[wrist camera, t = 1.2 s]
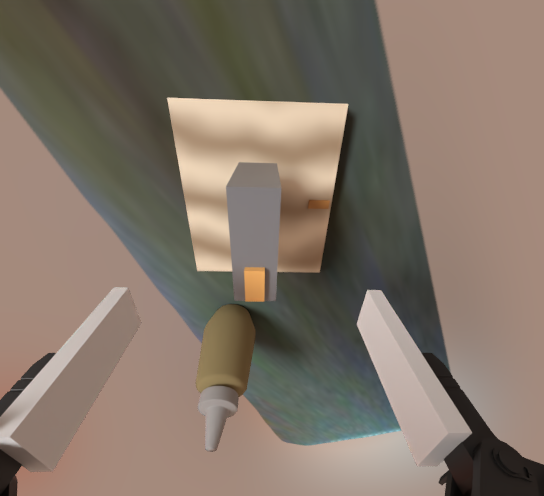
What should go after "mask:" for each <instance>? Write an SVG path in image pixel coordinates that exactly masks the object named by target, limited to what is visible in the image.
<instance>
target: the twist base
mask: <svg viewBox="0 0 544 496" xmlns="http://www.w3.org/2000/svg"><path fill="white" fill-rule="evenodd" d="M167 100H168V105H169V111H170V117H171V123H172V128H173V134H174V140H175V145H176V151H177V157H178V163H179V168H180V174H181V180H182V185H183V191H184V197H185V203H186V208H187V214H188V220H189V225H190V231H191V237H192V243H193V248H194V254H195V260H196V266H197V271H232V261H231V247H230V234H229V221H228V208H227V195H226V185H227V184H228V182H229V180H230V178H231V176H232V174H233V172H234V171H235V169H236V167H237V165H238V163H239V162H250V163H277V166H278V172H279V177H280V183H281V206H280V226H279V246H278V266H277V272H320V268H321V262H322V256H323V250H324V244H325V238H326V232H327V227H328V221H329V215H330V209H331V203H332V197H333V191H334V185H335V180H336V174H337V168H338V162H339V156H340V150H341V144H342V139H343V133H344V127H345V121H346V115H347V109H348V104H332V103H303V102H274V101H245V100H215V99H186V98H167Z"/></svg>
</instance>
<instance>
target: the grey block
mask: <svg viewBox="0 0 544 496" xmlns="http://www.w3.org/2000/svg"><path fill="white" fill-rule="evenodd" d="M226 195H227V208H228V221H229V234H230V247H231V261H232V274H233V287H234V300H235V301H263V302H264V301H276V286H277V266H278V246H279V226H280V206H281V183H280V177H279V172H278V166H277V163H250V162H239V163H238V165H237V167H236V169H235V171H234V172H233V174H232V176H231V178H230V180H229V182H228V184H227V185H226Z"/></svg>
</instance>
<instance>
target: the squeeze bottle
mask: <svg viewBox="0 0 544 496" xmlns="http://www.w3.org/2000/svg"><path fill="white" fill-rule="evenodd" d="M255 332H256V331H255V328H254V325H253V322H252V319H251V316H250V314H249V312H248V310H246V309H245V308H244V307H242V306H239V305H236V304H228V305H224V306H222V307H220V308H219V309H218V310H217V311H216V313H215V314H214V315H213V316H212V318H211V319H210V320H209V322H208V323H207V325H206V327H205V329H204V334H203V340H202V347H201V353H200V359H199V365H198V371H197V378H196V388H197V390H198V391H199V392H200V393H201V395H200V399H199V403H198V410H199V412H200V413H201V414H202V415H204V416H206V436H205V437H206V438H205V439H206V440H205V449H206V450H207V451H211V452H213V451H216V450H217V447H218V444H219V441H220V438H221V435H222V432H223V428H224V425H225V422H226V419H227V418H228V417H231V416H233V415H234V414H235V413H236V412H237V408H238V397H240V396H241V395H242V394H243V393H244V392H245V391H246V389H247V383H248V377H249V372H250V366H251V360H252V354H253V348H254V342H255Z"/></svg>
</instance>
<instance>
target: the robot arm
mask: <svg viewBox="0 0 544 496" xmlns="http://www.w3.org/2000/svg"><path fill="white" fill-rule="evenodd" d="M140 325H141V320H140V318H139V315H138V312H137V309H136V307H135V304H134V302H133V299H132V296H131V293H130V291H129V288H113V289H112V290H111V291H110V293H109V294H108V295H107V296H106V297H105V299H103V301H102V302H101V303H100V304H99V305H98V306H97V307H96V309H95V310H94V311H93V312H92V313H91V314H90V315H89V317H88V318H87V319H86V320H85V321H84V322H83V324H82V325H81V326H80V327H79V328H78V329H77V330H76V331H75V332H74V334H73V335H72V336H71V337H70V338H69V339H68V340H67V342H66V343H65V344H64V345H63V346H62V347H61V348H60V350H59V351H58V352H57V353H48V354H47V355H45V356H44V357H43V358H41V359H40V360H39V361H37V362H36V363H35V364H33V365H32V366H31V367H30V369H29V370H28V371H27V372H26V373H25V374H24V375H23V376H22V377H21V380H19V381H17V383H16V384H15V385H14V386H13V387H12V388H11V390H10V391H9V392H7V393H6V394H5V395H4V396H3V398H2V399H1V400H0V496H17V478H16V476H15V474H16V473H17V471H18V470H19V469H20V467H21V466H23V467H25V468H26V469H27V470H29V471H31V472H49V471H50V472H51V471H53V470H54V469H55V467H56V465H57V463H58V462H59V460H60V459H61V457H62V455H63V454H64V452H65V450H66V449H67V447H68V445H69V444H70V442H71V440H72V439H73V437H74V435H75V433H76V432H77V430H78V428H79V427H80V425H81V423H82V422H83V420H84V418H85V417H86V415H87V414H88V412H89V410H90V408H91V407H92V405H93V403H94V402H95V400H96V398H97V397H98V395H99V393H100V392H101V390H102V388H103V387H104V385H105V383H106V382H107V380H108V378H109V377H110V375H111V373H112V371H113V370H114V368H115V366H116V365H117V363H118V362H119V360H120V358H121V357H122V355H123V353H124V352H125V350H126V348H127V347H128V345H129V343H130V342H131V340H132V338H133V337H134V335H135V333H136V332H137V330H138V328H139V326H140ZM357 326H358V328H359V331H360V333H361V335H362V338H363V340H364V342H365V345H366V347H367V350H368V352H369V354H370V357H371V359H372V361H373V364H374V366H375V368H376V371H377V373H378V376H379V378H380V380H381V383H382V385H383V387H384V390H385V392H386V394H387V397H388V399H389V401H390V404H391V406H392V409H393V411H394V413H395V416H396V418H397V420H398V423H399V425H400V427H401V430H402V432H403V434H404V437H405V439H406V441H407V444H408V446H409V449H410V451H411V453H412V456H413V458H414V460H415V463H416V465H417V466H438V465H439V464H440V463H441V462H442V461H443V460H444V461H445V463H446V464H447V466H448V468H449V471H447V472H446V473H445V474H444V475H443V476H442V477H441V478H440V481H439V483H440V484H441V485H443V484H444V483H446V490H445V496H544V465H543V464H540V463H537V462H534V461H531V460H529V459H526V458H524V457H522V456H521V455H520V454H519V453H518V452H517V451H516V450H515V449H513V448H512V447H510V446H509V445H508V444H507V443H505V442H502V441H500V440H499V439H498V438H497V437H496V436H495V435H494V434H493V433H492V431H491V430H490V429H489V427H488V426H487V425H486V423H485V422H484V420H483V419H482V417H481V416H480V415H479V413H478V412H477V410H476V409H475V408H474V406H473V405H472V403H471V402H470V400H469V399H468V398H467V396H466V395H465V393H464V392H463V391H462V390H461V389H460V386H459V385H458V383H457V382H456V380H455V379H453V376H452V375H451V373H450V372H449V371H448V369H447V368H446V366H445V365H444V364H443V363H442V362H441V361H440V360H439V359H438V358H437V357H436V356H435V355H433V354H432V353H421V352H420V350H419V349H418V347H417V346H416V344H415V343H414V341H413V339H412V338H411V336H410V335H409V333H408V332H407V330H406V328H405V327H404V325H403V324H402V322H401V321H400V319H399V318H398V316H397V314H396V313H395V311H394V310H393V308H392V307H391V305H390V304H389V302H388V300H387V299H386V297H385V296H384V294H383V293H382V291H381V290H367V293H366V296H365V299H364V302H363V306H362V309H361V312H360V315H359V318H358V322H357Z"/></svg>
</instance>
